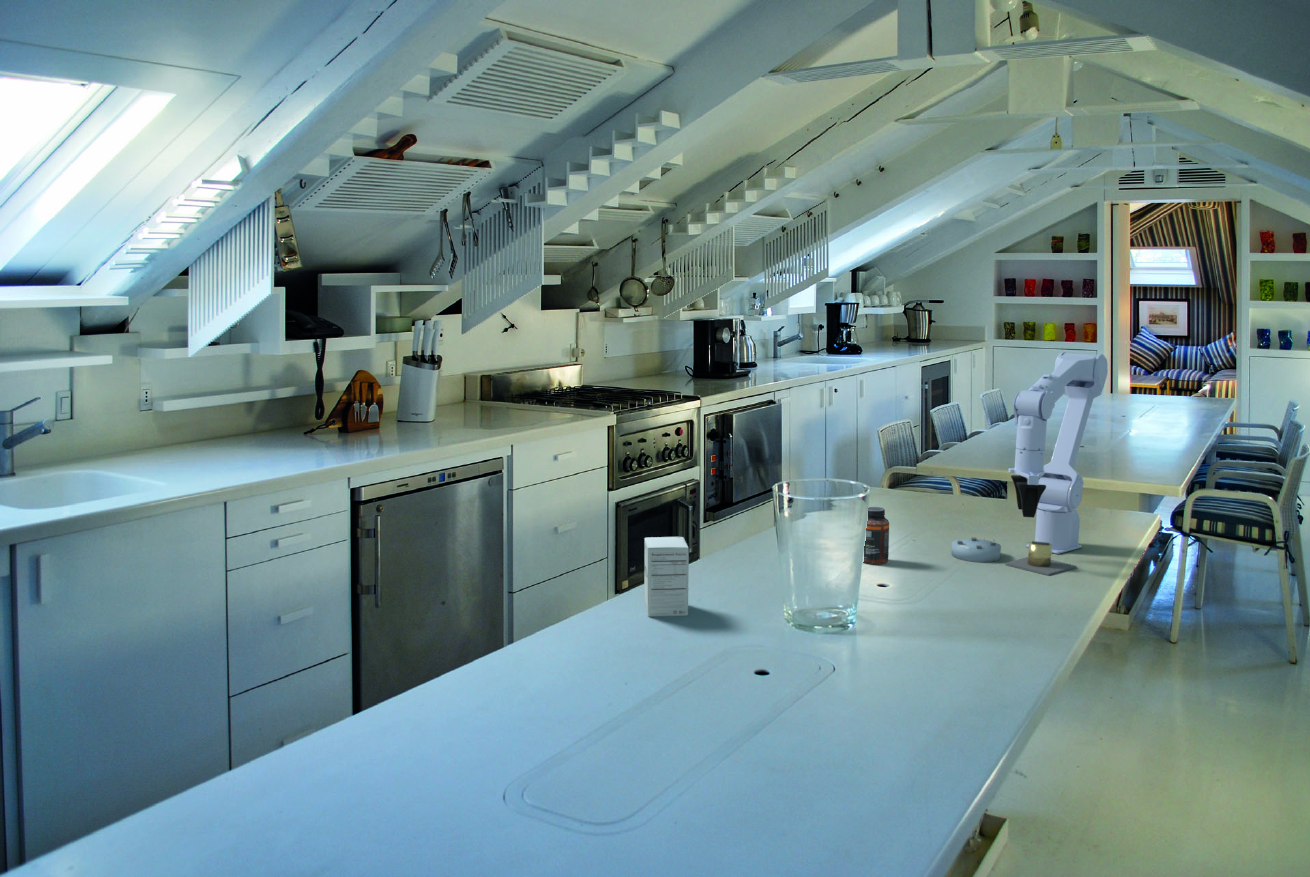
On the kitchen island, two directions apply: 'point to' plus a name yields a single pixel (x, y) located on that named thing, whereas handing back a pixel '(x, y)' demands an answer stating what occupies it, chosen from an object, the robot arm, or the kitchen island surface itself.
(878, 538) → the supplement bottle
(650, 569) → the supplement box
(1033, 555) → the knob
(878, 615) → the kitchen island surface
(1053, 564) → the mat
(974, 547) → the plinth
